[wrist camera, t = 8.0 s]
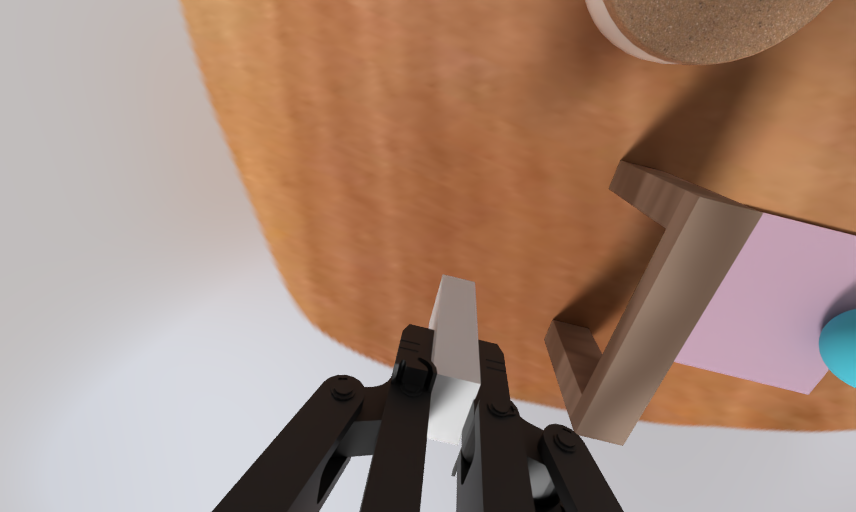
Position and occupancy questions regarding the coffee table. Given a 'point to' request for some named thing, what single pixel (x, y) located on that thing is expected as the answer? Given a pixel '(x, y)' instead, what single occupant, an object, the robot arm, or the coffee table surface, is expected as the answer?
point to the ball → (840, 346)
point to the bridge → (650, 303)
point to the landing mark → (776, 305)
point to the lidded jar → (700, 27)
